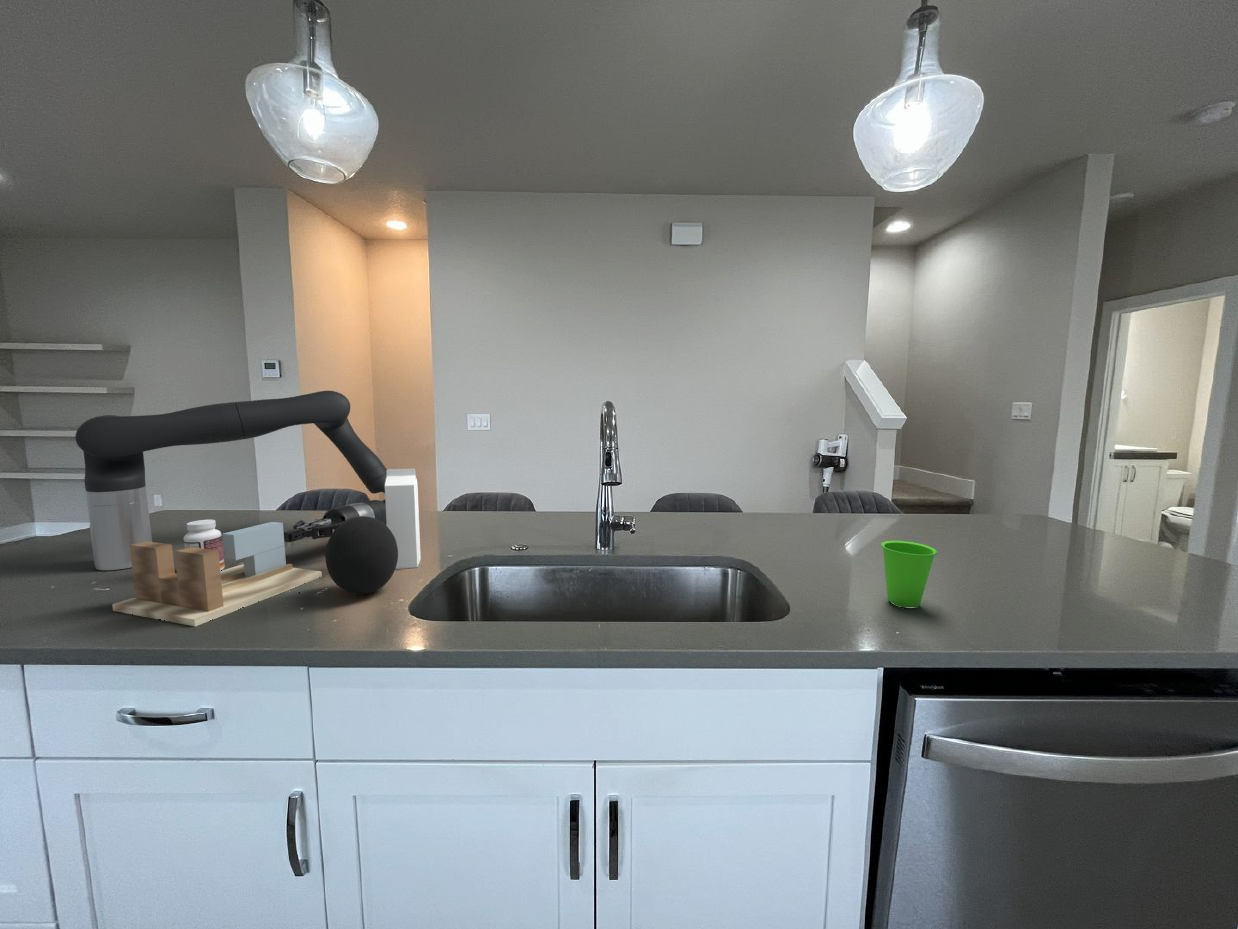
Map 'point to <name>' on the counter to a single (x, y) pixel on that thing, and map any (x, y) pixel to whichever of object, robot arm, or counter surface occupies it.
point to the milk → (403, 515)
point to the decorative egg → (361, 555)
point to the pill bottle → (205, 537)
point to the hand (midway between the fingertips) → (285, 537)
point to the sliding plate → (256, 547)
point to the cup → (906, 571)
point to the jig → (198, 584)
